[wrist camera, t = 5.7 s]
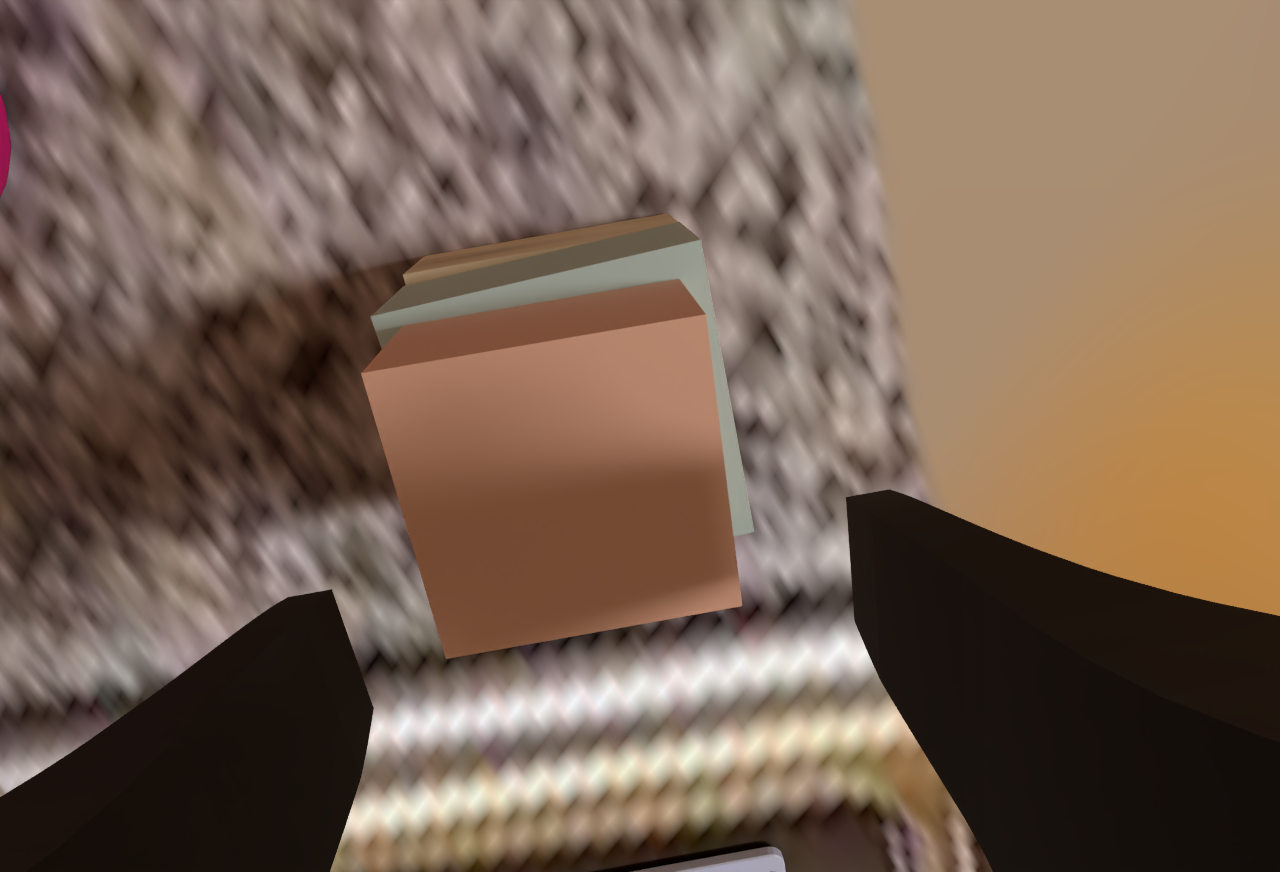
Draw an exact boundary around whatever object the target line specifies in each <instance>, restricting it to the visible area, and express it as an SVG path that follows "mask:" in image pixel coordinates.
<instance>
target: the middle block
mask: <svg viewBox="0 0 1280 872" xmlns="http://www.w3.org/2000/svg"><path fill="white" fill-rule="evenodd" d="M675 279H680V280H681V282H682V283H683V284H684V286H685V287H686V288H687V290H688V291H689V292H690V294H691V295H692V296H693V298H694V299H695V300H696V302H697V303H698V304H699V306H700V307H701V308H702V310H703V311H704V312H705V314H706V319H707V327H708V335H709V343H710V351H711V359H712V367H713V375H714V383H715V391H716V399H717V407H718V415H719V423H720V431H721V439H722V447H723V455H724V463H725V471H726V479H727V488H728V496H729V504H730V512H731V520H732V528H733V536H734V537H735V536H739V535H743V534H748V533H752V532H754V527H753V522H752V516H751V511H750V505H749V500H748V494H747V489H746V484H745V478H744V473H743V467H742V462H741V456H740V451H739V445H738V440H737V434H736V429H735V423H734V418H733V412H732V407H731V402H730V396H729V391H728V385H727V380H726V374H725V369H724V363H723V358H722V352H721V347H720V341H719V336H718V330H717V325H716V320H715V314H714V309H713V303H712V298H711V292H710V287H709V281H708V276H707V270H706V265H705V259H704V254H703V248H702V243H701V239H699V238H698V237H697V236H696V235H695V234H693V233H692V232H691V231H690V230H689V229H687V228H686V227H685V226H684V225H682V224H681V223H680V222H676V223H672V224H668V225H663V226H659V227H655V228H650V229H646V230H642V231H637V232H633V233H629V234H625V235H620V236H616V237H612V238H607V239H603V240H599V241H595V242H590V243H586V244H582V245H577V246H573V247H569V248H565V249H560V250H556V251H552V252H547V253H543V254H539V255H534V256H530V257H526V258H522V259H517V260H513V261H509V262H504V263H500V264H496V265H492V266H487V267H483V268H479V269H474V270H470V271H466V272H462V273H457V274H453V275H449V276H444V277H440V278H436V279H431V280H427V281H423V282H419V283H414V284H410V285H405V286H403V287H402V288H401V289H400V290H399V291H398V292H397V293H396V294H394V295H393V296H392V297H391V298H390V299H389V300H388V301H387V302H386V303H385V304H384V305H382V306H381V307H380V308H379V309H378V310H377V311H376V312H375V313H374V314H373V315H371V316H370V317H371V320H372V323H373V326H374V329H375V331H376V334H377V337H378V340H379V343H380V346H381V349H383V348H384V347H385V346H386V344H387V343H388V342H389V341H390V340H391V339H392V338H393V336H394V335H395V334H396V333H397V332H398V331H399V330H400V329H401V327H402V326H404V325H410V324H415V323H421V322H427V321H433V320H439V319H445V318H451V317H457V316H463V315H468V314H474V313H480V312H486V311H492V310H498V309H504V308H510V307H516V306H521V305H527V304H533V303H539V302H545V301H551V300H557V299H563V298H569V297H575V296H580V295H586V294H592V293H598V292H604V291H610V290H616V289H622V288H628V287H633V286H639V285H645V284H651V283H657V282H663V281H669V280H675Z"/></svg>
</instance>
